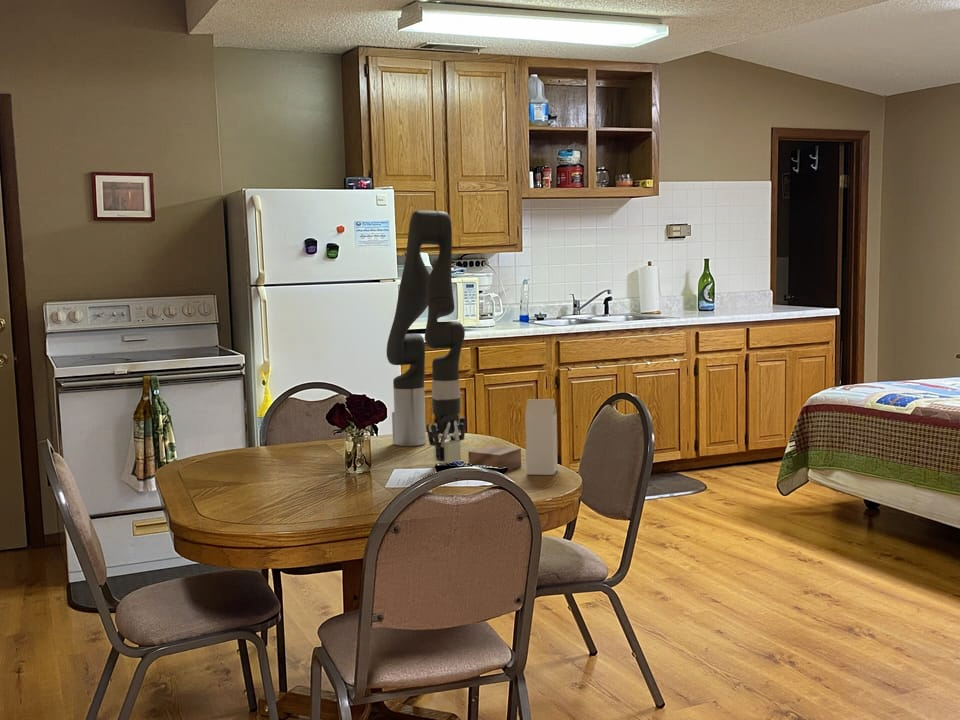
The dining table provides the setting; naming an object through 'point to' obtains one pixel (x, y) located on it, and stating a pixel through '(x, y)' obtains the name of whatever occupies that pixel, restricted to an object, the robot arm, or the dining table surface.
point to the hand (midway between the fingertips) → (447, 458)
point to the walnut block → (496, 457)
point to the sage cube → (450, 451)
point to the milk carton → (541, 437)
